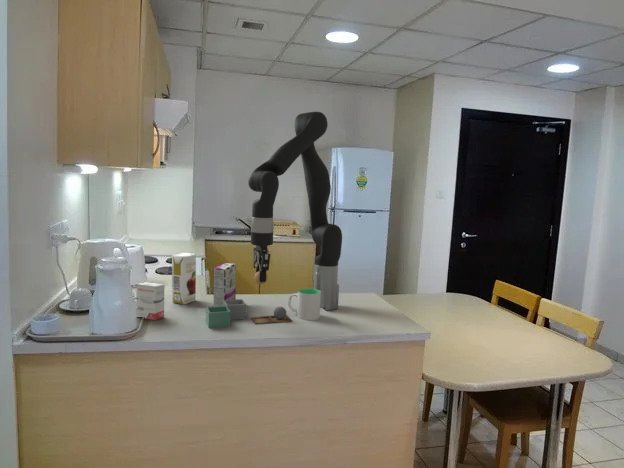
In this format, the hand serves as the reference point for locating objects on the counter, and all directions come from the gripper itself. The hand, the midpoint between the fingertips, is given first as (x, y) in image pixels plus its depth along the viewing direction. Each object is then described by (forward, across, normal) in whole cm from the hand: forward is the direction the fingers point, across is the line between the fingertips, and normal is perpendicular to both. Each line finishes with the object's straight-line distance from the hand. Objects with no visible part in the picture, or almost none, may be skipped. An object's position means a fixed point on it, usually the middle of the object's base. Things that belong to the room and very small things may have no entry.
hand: (260, 280), depth 163 cm
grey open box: (+15, +8, +7) cm, 19 cm away
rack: (+15, 0, -4) cm, 16 cm away
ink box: (+16, +16, +35) cm, 42 cm away
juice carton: (+16, +34, +22) cm, 44 cm away
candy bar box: (+16, +22, +8) cm, 28 cm away
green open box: (+15, 0, +14) cm, 21 cm away
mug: (+16, +2, -17) cm, 23 cm away
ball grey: (+14, 0, -7) cm, 16 cm away
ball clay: (+1, 0, 0) cm, 1 cm away
